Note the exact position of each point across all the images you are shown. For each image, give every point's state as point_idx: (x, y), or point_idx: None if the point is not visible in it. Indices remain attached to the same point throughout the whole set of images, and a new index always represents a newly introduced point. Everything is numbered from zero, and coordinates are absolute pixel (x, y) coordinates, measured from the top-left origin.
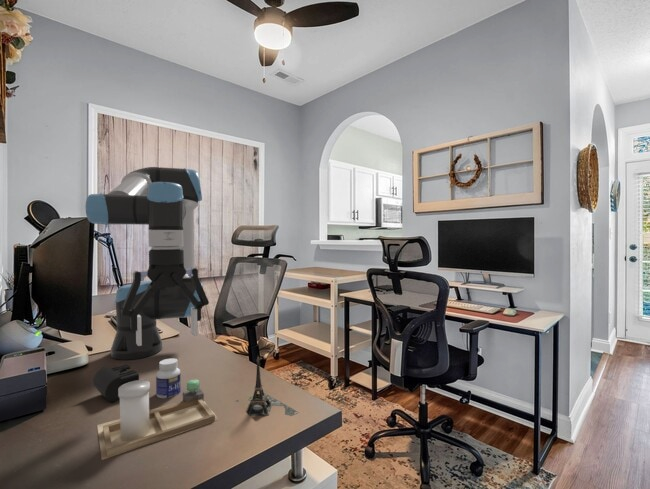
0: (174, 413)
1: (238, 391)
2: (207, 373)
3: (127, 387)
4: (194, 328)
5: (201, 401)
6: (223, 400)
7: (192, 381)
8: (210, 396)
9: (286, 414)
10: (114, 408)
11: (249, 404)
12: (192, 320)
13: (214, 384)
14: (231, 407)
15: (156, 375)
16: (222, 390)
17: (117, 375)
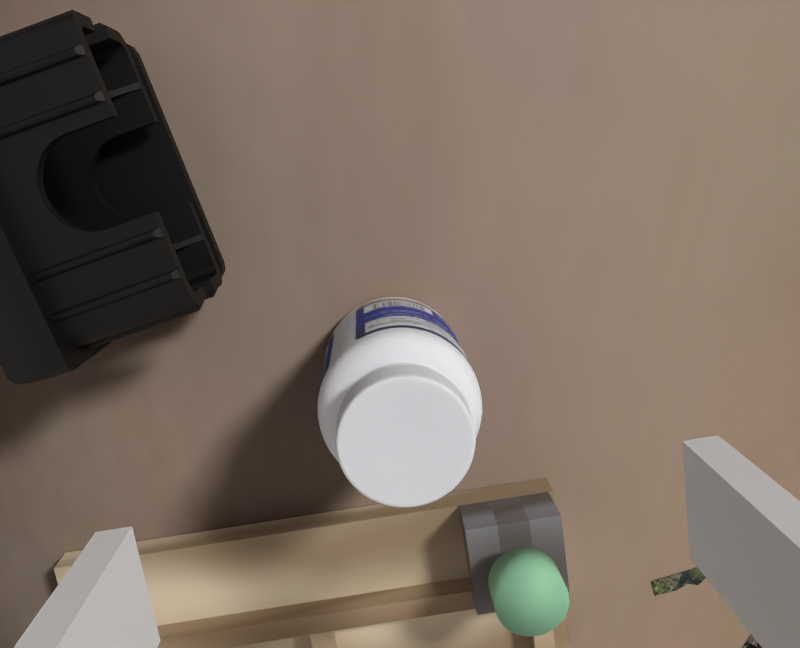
0: (404, 623)
1: (763, 468)
2: (679, 86)
3: None
4: (732, 610)
5: None
6: (657, 532)
7: (530, 596)
8: (608, 454)
9: None
10: (106, 346)
11: (755, 645)
12: (775, 593)
13: (671, 304)
14: (670, 619)
15: (318, 419)
16: (689, 412)
17: (44, 336)
